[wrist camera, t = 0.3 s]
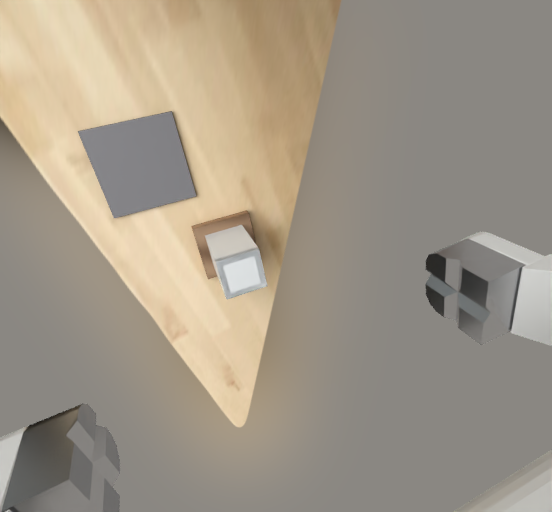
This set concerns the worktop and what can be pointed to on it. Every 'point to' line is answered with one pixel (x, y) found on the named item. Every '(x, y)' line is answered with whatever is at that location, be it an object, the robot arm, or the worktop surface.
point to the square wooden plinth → (216, 226)
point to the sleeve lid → (236, 261)
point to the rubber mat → (139, 163)
